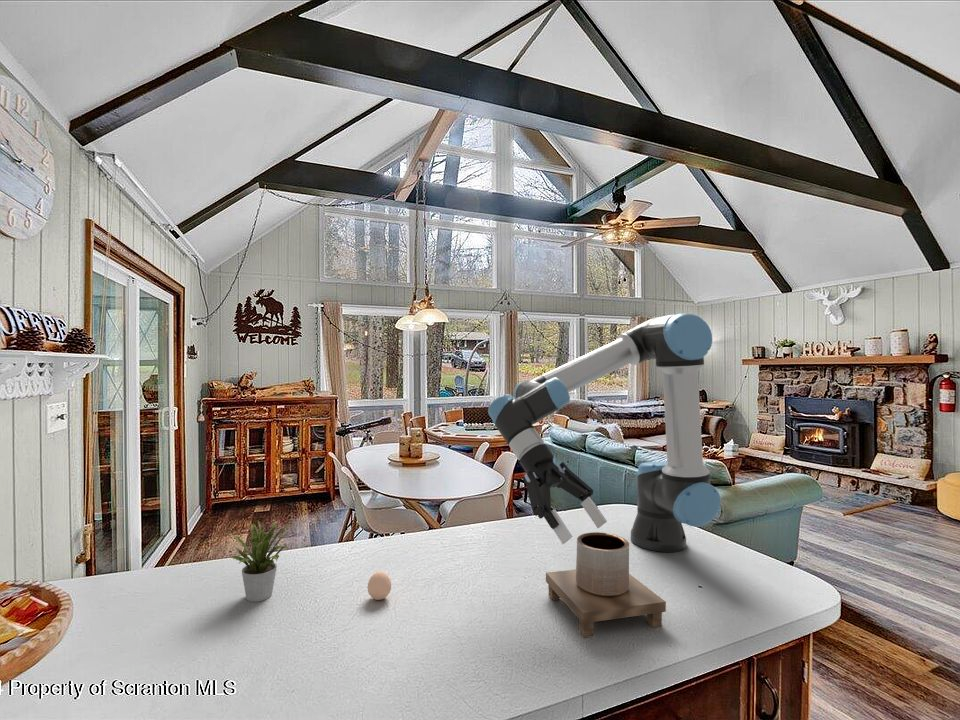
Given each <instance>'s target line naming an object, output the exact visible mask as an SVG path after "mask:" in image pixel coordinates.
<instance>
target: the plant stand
mask: <svg viewBox="0 0 960 720" xmlns="http://www.w3.org/2000/svg"><path fill="white" fill-rule="evenodd" d="M545 582H546V583H547V585H548V596H550V597H549V598H550V599H551V600H552V599H556V600H561V601H562V602H563V603H565V605H566V606H567V607H568V608H569V609H570V611H571V612H572V613H573V614H574V615H575V616H576V617H577V618H578V628H579V629H578V632H579V633H580V635H581V636H582V637H583V638H589V637H593V636H594V624H595V623H596V622H602V621H609V620H616V619H625V618H631V617H637V616H645V615H646V623H648V624H649V625H650V626H651V627H652V628H657V627H662V626H663V625H662V624H663V623H662V622H663V621H662V620H663V618H662V617H663V613H666V611H667V609H666V607H667V605H666V604H667V602H666V600H664V599H663V598H662V597H661V596H659V595H657V593H655V592H654V591H652V590H651V588H649V587H647V586H646V585H645V584H643V583H642V582H641V581H640V580H638V579H637V578H636V577H634V576H633V575H632V574H631V573H629V588H628V590H627V591H626V592H625V593H624V594H621V595H619V596H614V597H602V596H596V595H593V594H590V593H587V592H586V591H584V590H582V589H581V588H580V587H579V586H578V585H577V583H576V568H575V569H568V570H567V569H566V570H559V571H557V570H556V571H549V572H545ZM559 598H561V599H559Z"/></svg>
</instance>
